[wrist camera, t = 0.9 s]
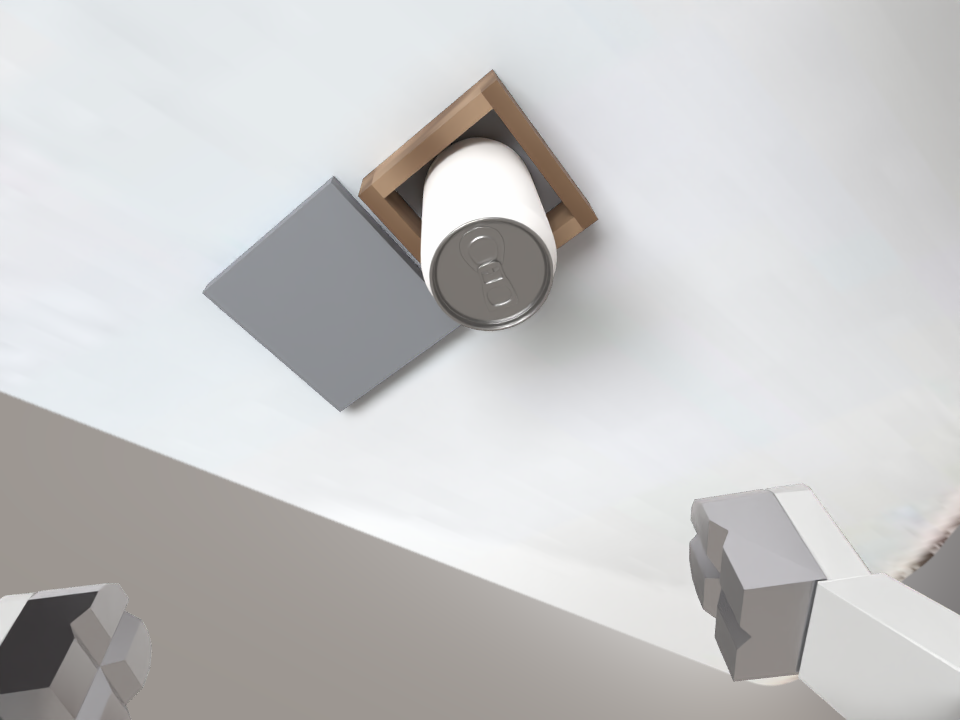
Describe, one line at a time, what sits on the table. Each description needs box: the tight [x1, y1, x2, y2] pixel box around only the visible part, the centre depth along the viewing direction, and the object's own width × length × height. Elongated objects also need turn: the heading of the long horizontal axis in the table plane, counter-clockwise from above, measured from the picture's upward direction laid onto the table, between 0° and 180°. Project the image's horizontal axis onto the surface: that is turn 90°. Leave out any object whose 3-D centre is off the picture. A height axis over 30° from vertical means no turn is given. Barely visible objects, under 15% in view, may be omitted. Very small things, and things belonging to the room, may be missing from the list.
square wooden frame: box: [358, 69, 598, 264], centre depth 39 cm, size 10×10×3 cm
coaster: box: [203, 176, 461, 412], centre depth 43 cm, size 11×12×1 cm
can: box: [421, 137, 557, 331], centre depth 36 cm, size 6×6×12 cm
